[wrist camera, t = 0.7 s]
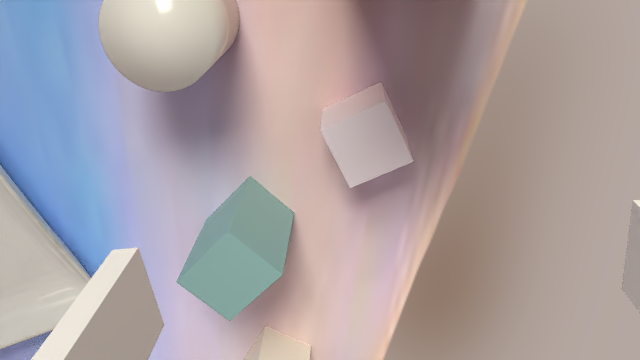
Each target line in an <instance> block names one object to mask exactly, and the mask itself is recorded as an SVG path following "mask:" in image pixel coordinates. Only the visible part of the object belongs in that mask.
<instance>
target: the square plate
mask: <svg viewBox="0 0 640 360" xmlns="http://www.w3.org/2000/svg"><path fill="white" fill-rule="evenodd" d="M90 279H91V277H90V276H89V274H88V273H87V272H86V270H85V269H84V268H83V267H82V265H81V264H80V263H79V261H78V260H77V259H76V257H75V256H74V255H73V254H72V252H71V251H70V250H69V249H68V248H67V246H66V245H65V244H64V243H63V242H62V241H61V239H60V238H59V237H58V236H57V235H56V234H55V232H54V231H53V230H52V229H51V228H50V227H49V225H48V224H47V223H46V222H45V220H44V219H43V218H42V217H41V216H40V214H39V213H38V212H37V211H36V209H35V208H34V207H33V206H32V204H31V203H30V202H29V201H28V199H27V198H26V197H25V196H24V194H23V193H22V192H21V191H20V189H19V188H18V187H17V186H16V184H15V183H14V182H13V181H12V179H11V178H10V177H9V175H8V174H7V173H6V172H5V170H4V169H3V168H2V166H1V165H0V349H3V348H5V347H8V346H11V345H14V344H16V343H19V342H22V341H25V340H27V339H30V338H33V337H35V336H38V335H41V334H44V333H46V332H49V331H52V330H53V329H54V328H55V327H56V325H57V324H58V323H59V321H60V320H61V319H62V317H63V316H64V314H65V313H66V312H67V310H68V309H69V308H70V306H71V305H72V304H73V302H74V301H75V300H76V298H77V297H78V296H79V294H80V293H81V292H82V290H83V289H84V287H85V286H86V285H87V283H88V282H89V281H90Z"/></svg>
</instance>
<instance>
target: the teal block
mask: <svg viewBox="0 0 640 360" xmlns="http://www.w3.org/2000/svg"><path fill="white" fill-rule="evenodd" d="M293 217H294V212H293V211H291V210H290V209H289V208H288V207H287V206H285V205H284V204H283V203H282V202H281V201H279V200H278V199H277V198H276V197H275V196H274V195H272V194H271V193H270V192H269V191H268V190H266V189H265V188H264V187H263V186H262V185H260V184H259V183H258V182H257V181H256V180H254V179H253V178H252V177H251V176H250V177H249V178H248V179H247V180H246V181H245V182H244V183H243V184H242V185H241V186H240V187H239V188H238V189H237V190H236V191H235V192H234V193H233V194H232V195H231V196H230V197H229V198H228V199H227V200H226V201H225V202H224V203H223V204H222V205H221V206H220V207H219V208H218V209H217V210H216V211H215V212H214V213H213V214H212V215H211V216H210V217H209V218H208V219H207V220H206V222H205V224H204V226H203V228H202V230H201V232H200V234H199V236H198V238H197V240H196V242H195V244H194V247H193V249H192V251H191V253H190V255H189V257H188V259H187V261H186V263H185V265H184V267H183V269H182V271H181V273H180V275H179V278H178V280H177V283H178V284H180V285H181V286H182V287H184V288H185V289H186V290H188V291H189V292H191V293H192V294H193V295H195V296H196V297H197V298H199V299H200V300H202V301H203V302H204V303H206V304H207V305H208V306H210V307H211V308H212V309H214V310H215V311H217V312H218V313H219V314H221V315H222V316H223V317H225V318H226V319H227V320H229V321H230V320H231V319H232V318H234V317H235V316H236V315H237V314H238V313H239V312H240V311H242V310H243V309H244V308H245V307H246V306H247V305H248V304H250V303H251V302H252V301H253V300H254V299H255V298H256V297H258V296H259V295H260V294H261V293H262V292H263V291H264V290H266V289H267V288H268V287H269V286H270V285H271V284H272V283H274V282H275V281H276V280H277V279H278V278H279V277H281V276H282V275H283V270H284V265H285V259H286V254H287V249H288V243H289V238H290V233H291V227H292V222H293Z"/></svg>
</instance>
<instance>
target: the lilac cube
mask: <svg viewBox="0 0 640 360" xmlns="http://www.w3.org/2000/svg"><path fill="white" fill-rule="evenodd" d="M320 132H321V134H322V136H323V138H324V140H325V141H326V143H327V145H328V147H329V149H330V151H331V153H332V155H333V157H334V159H335V161H336V162H337V164H338V166H339V168H340V170H341V172H342V174H343V176H344V178H345V180H346V182H347V183H348V185H349V187H350V188H352V187H354V186H357V185H359V184H362V183H364V182H366V181H369V180H371V179H374V178H376V177H378V176H381V175H383V174H385V173H388V172H390V171H393V170H395V169H397V168H400V167H402V166H405V165H407V164H409V163H412V162H414V161H413V158H412V154H411V151H410V147H409V144H408V140H407V137H406V135H405V132H404V130H403V128H402V126H401V124H400V121H399V119H398V117H397V115H396V113H395V110H394V108H393V106H392V104H391V102H390V99H389V97H388V95H387V93H386V91H385V88H384V86H383V84H382V82H379V83H377V84H375V85H373V86H370V87H368V88H366V89H364V90H362V91H360V92H357V93H355V94H353V95H351V96H349V97H347V98H344V99H342V100H340V101H338V102H336V103H334V104H332V105H329V106H327V107H325V108H323V110H322V117H321V125H320Z"/></svg>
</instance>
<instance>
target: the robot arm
mask: <svg viewBox="0 0 640 360" xmlns="http://www.w3.org/2000/svg"><path fill="white" fill-rule="evenodd" d="M622 290H623V291H624V293H625V294H626V295H627V297H628V298H629V299H630V301H631V302H632V303H633V304H634V306H635V307H636V309H637V310H638V311H639V312H640V200H634V201H632V209H631V217H630V225H629V233H628V241H627V249H626V258H625V266H624V273H623V281H622ZM163 326H164V323H163V320H162V317H161V314H160V311H159V308H158V305H157V302H156V299H155V296H154V293H153V290H152V287H151V284H150V281H149V278H148V275H147V272H146V269H145V266H144V263H143V260H142V257H141V254H140V251H139V248H128V249H117V250H112V251H111V252H110V254H109V255H108V256H107V258H106V259H105V260H104V262H103V263H102V265H101V266H100V267H99V269H98V270H97V271H96V273H95V274H94V275H93V277H92V278H91V279H90V281H89V282H88V283H87V285H86V286H85V287H84V289H83V290H82V292H81V293H80V294H79V296H78V297H77V298H76V300H75V301H74V302H73V304H72V305H71V306H70V308H69V309H68V310H67V312H66V313H65V314H64V316H63V317H62V319H61V320H60V321H59V323H58V324H57V325H56V327H55V328H54V329H53V331H52V332H51V333H50V335H49V336H48V337H47V339H46V340H45V341H44V343H43V344H42V346H41V347H40V348H39V350H38V351H37V352H36V354H35V355H34V356H33V358H32V359H31V360H148V358H149V356H150V354H151V352H152V350H153V348H154V345H155V343H156V341H157V339H158V337H159V335H160V333H161V331H162V328H163Z"/></svg>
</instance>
